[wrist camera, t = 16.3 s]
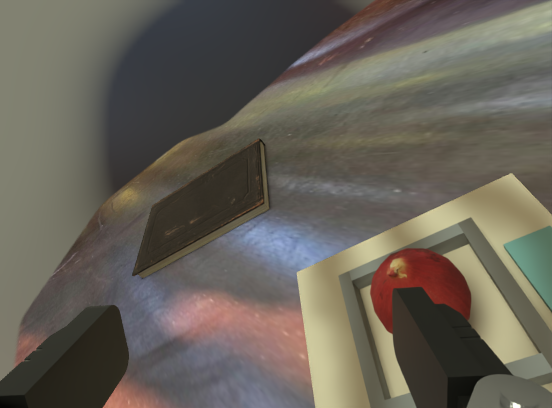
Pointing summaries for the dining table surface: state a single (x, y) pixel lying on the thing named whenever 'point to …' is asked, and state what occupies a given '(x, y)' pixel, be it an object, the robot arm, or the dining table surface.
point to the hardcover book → (205, 209)
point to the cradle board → (479, 276)
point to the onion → (419, 282)
